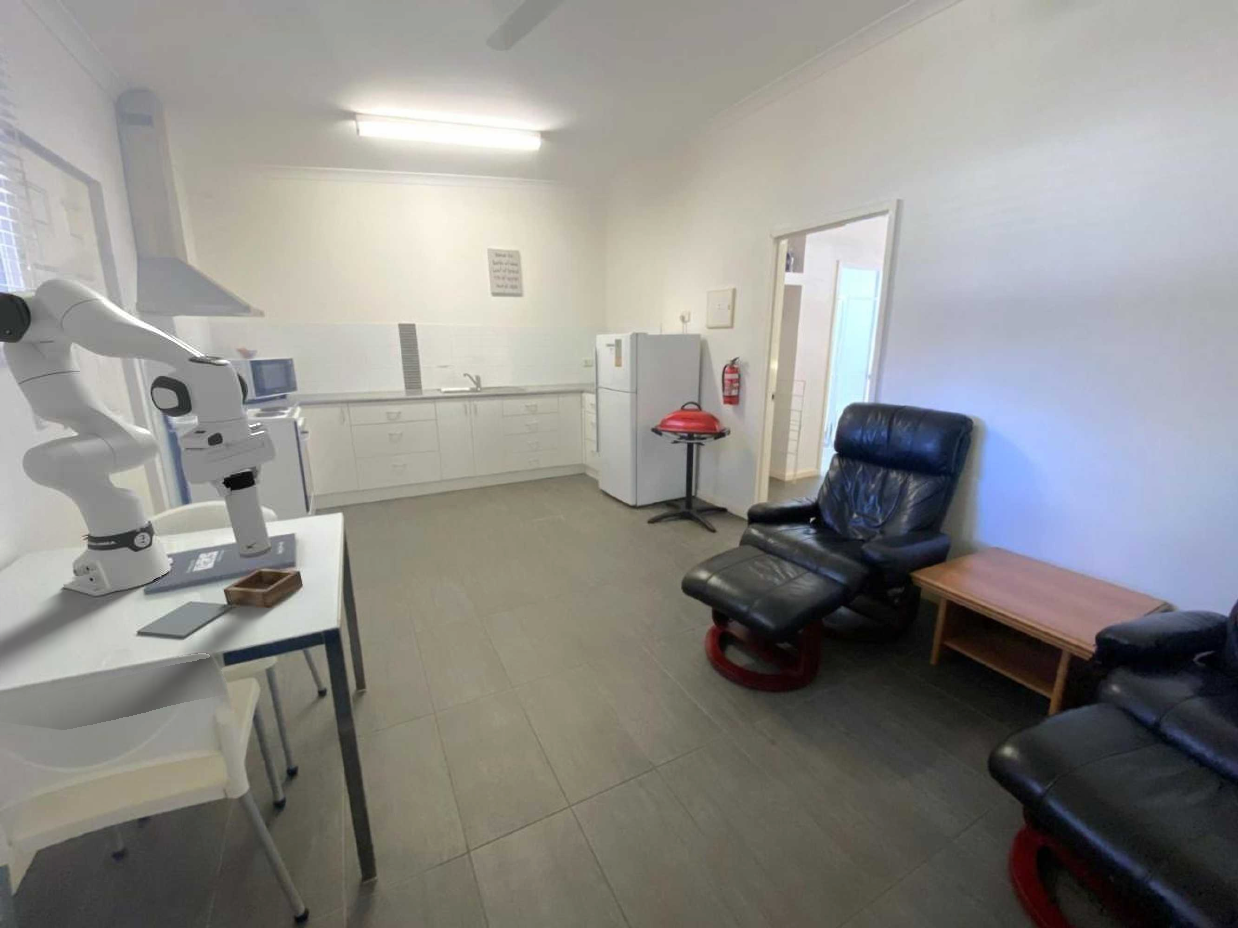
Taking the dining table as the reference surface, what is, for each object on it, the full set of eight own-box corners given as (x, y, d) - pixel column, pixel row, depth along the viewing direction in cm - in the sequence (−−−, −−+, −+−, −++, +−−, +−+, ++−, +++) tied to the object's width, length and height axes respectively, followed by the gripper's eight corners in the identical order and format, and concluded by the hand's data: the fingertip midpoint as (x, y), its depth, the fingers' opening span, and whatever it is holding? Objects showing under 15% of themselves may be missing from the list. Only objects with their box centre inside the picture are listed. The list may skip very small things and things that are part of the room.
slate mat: (137, 633, 110) (136, 631, 110) (190, 603, 122) (190, 601, 121) (184, 637, 108) (183, 635, 108) (234, 606, 120) (233, 604, 119)
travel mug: (256, 559, 118) (235, 477, 112) (233, 557, 119) (211, 476, 114) (279, 547, 124) (260, 469, 118) (256, 546, 125) (236, 468, 120)
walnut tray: (227, 604, 121) (223, 589, 120) (263, 582, 131) (259, 568, 129) (269, 607, 119) (265, 592, 118) (302, 585, 129) (299, 570, 128)
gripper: (253, 421, 124) (265, 475, 127) (169, 441, 104) (186, 505, 108) (276, 421, 123) (287, 476, 126) (195, 442, 103) (212, 506, 107)
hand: (240, 490), depth 117 cm, fingers closed on travel mug, 6 cm apart
